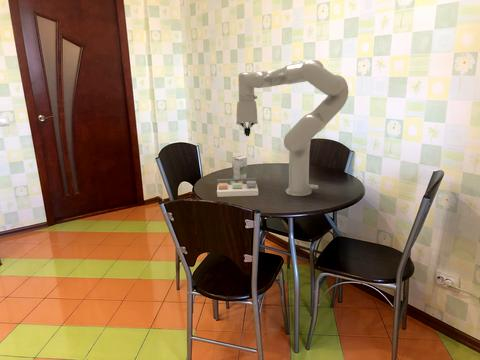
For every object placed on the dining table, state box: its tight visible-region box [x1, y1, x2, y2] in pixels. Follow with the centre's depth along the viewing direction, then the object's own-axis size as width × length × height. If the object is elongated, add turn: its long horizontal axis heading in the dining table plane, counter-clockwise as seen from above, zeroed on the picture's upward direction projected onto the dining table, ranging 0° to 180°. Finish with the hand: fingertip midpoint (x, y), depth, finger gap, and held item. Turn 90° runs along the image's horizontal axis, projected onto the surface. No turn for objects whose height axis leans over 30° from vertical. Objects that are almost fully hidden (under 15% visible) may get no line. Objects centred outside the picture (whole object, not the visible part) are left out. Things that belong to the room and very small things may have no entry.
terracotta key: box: [218, 183, 228, 189], centre depth 187 cm, size 5×5×2 cm
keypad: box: [216, 177, 259, 198], centre depth 189 cm, size 20×14×5 cm
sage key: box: [232, 183, 242, 188], centre depth 188 cm, size 5×5×2 cm
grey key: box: [246, 180, 257, 186], centre depth 188 cm, size 5×5×2 cm
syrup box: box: [231, 155, 248, 179], centre depth 204 cm, size 6×6×14 cm
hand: (247, 135), depth 189 cm, fingers closed
